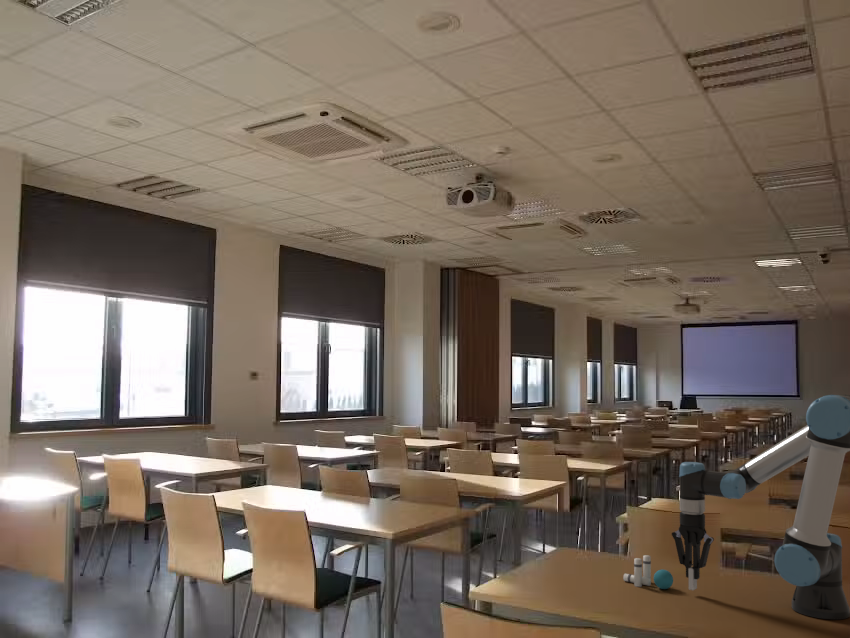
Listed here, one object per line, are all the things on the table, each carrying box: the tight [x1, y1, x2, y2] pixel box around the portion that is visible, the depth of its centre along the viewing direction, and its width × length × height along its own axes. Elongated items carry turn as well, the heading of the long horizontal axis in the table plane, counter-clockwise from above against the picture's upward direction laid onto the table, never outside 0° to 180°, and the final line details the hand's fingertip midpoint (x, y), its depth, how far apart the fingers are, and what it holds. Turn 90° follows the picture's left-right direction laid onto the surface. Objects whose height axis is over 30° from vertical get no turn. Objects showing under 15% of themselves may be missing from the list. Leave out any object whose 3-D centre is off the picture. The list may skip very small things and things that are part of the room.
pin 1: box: [633, 557, 643, 588], centre depth 246 cm, size 2×2×8 cm
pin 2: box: [642, 554, 652, 580], centre depth 251 cm, size 2×2×8 cm
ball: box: [653, 569, 674, 590], centre depth 243 cm, size 6×6×6 cm
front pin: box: [622, 572, 652, 587], centre depth 249 cm, size 2×2×8 cm
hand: (692, 588), depth 237 cm, fingers closed
